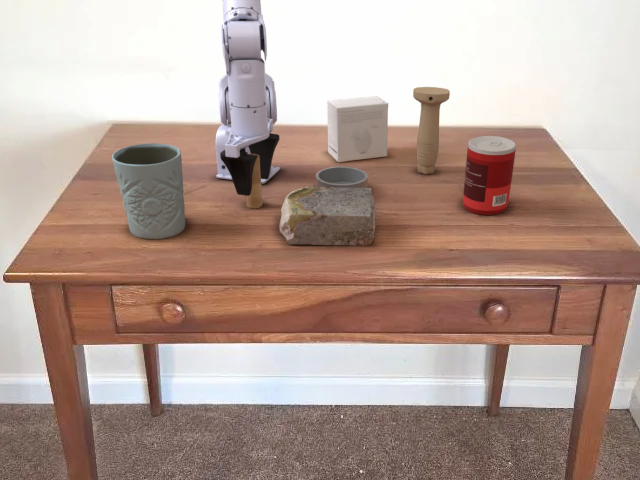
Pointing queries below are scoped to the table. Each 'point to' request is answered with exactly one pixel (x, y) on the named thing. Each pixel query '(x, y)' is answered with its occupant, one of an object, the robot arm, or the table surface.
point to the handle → (429, 126)
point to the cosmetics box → (357, 128)
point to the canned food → (488, 174)
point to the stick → (255, 187)
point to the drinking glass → (151, 189)
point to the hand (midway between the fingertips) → (253, 186)
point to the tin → (341, 178)
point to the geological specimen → (329, 216)
